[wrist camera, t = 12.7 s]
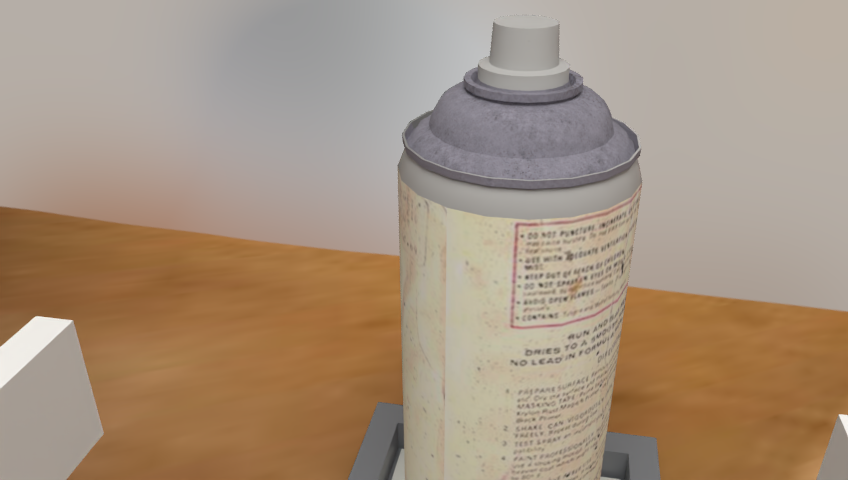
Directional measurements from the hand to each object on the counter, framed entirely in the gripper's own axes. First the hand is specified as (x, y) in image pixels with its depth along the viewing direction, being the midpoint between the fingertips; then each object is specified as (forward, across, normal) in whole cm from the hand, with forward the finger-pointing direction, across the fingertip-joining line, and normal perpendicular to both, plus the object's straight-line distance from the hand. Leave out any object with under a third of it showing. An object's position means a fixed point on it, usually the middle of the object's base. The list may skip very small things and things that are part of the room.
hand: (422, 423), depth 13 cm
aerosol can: (+10, +1, -15) cm, 18 cm away
